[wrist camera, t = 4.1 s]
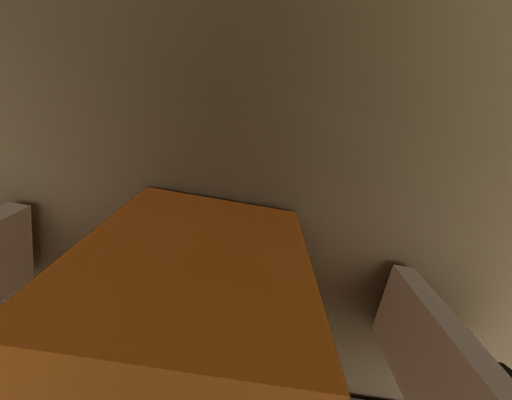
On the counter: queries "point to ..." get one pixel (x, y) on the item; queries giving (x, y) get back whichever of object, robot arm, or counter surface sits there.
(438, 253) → the counter surface
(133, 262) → the orange rectangular block
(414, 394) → the robot arm
